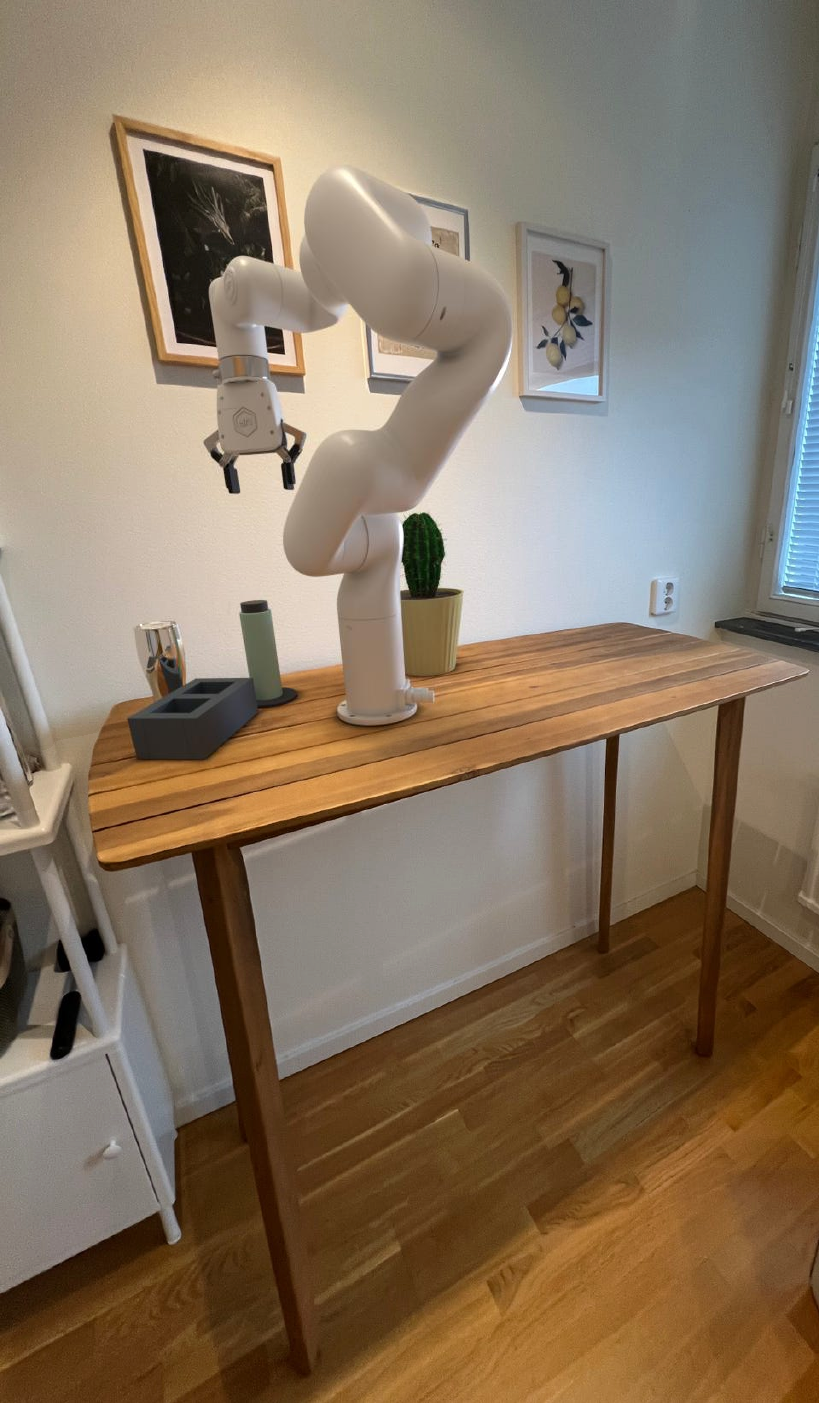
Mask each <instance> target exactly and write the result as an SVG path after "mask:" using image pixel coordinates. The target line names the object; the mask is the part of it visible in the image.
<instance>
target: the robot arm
mask: <svg viewBox="0 0 819 1403" xmlns="http://www.w3.org/2000/svg"><path fill="white" fill-rule="evenodd" d="M305 202H306V203H305V208H304V216H303V217H304V218H303V223H304V224H303V225H304V226H303V227H304V234H303V236H302V239H301V242H300V246H299V254H298V256H299V257H298V260H299V268H300V271H299V270H295V269H292V268H290V267H286V266H283V265H279V264H276V263H273V262H269V261H265V260H263V259H259V258H255V257H252V256H247V255H239V256H236V257H234V258H233V259H232V260H230V262H229V263H228V264H227V266H226V268H225V269H224V270H225V271H224V272H223V274H222V275H221V276H220V277H217V278H215V279H213V280H212V281H211V282H210V285H209V287H208V299H209V304H210V312H211V317H212V324H213V330H214V331H213V332H214V338H215V344H216V351H217V358H218V363H217V366H218V368H217V369H213V370H212V377H213V379H214V380H215V381H220V383H221V384H217V386H216V418H217V429H216V430H215V431H214V432H212V433H211V434H210V435H209V436H208V437H206V438H205V439H203V446H204V447H205V448H206V451H208V453H209V454H210V457H211V458H212V460H214V462H216V463H217V464H218V466H219V467H220V468H222V471H223V477H224V485H225V488H226V489H227V491H228V494H231V495H232V494H233V495H239V494H241V487H240V480H239V473H238V469H237V467H236V468H235V464H236V462H237V461H238V458H239V457H240V456H252V455H266V454H267V455H268V454H277V455H278V457H280V459H281V460H282V462H281V464H280V470H281V477H282V478H281V479H282V486H283V489H284V490H286V491H294V490H295V485H296V481H297V480H296V472H295V471H296V470H295V464H296V463H297V460H298V457H300V455H301V454H302V452H303V449H304V445H305V443H306V440H307V433H306V432H305V431H303V430H301V429H299V428H297V427H295V426H293V425H290V424H288V423H286V421H285V416H284V412H283V407H282V404H281V399H280V396H279V393H278V389H277V387H276V384H275V383H274V382H273V381H272V380H271V372H270V363H269V356H268V355H269V354H268V347H267V346H268V345H267V338H266V330H265V327H269V328H274V329H277V330H284V331H287V332H292V333H297V334H310V333H314V332H318V331H322V330H324V329H328V328H331V327H333V326H336V325H337V324H338V323H339V322H340V321H341V320H342V319H343V317H344V315H345V314H346V313H347V310H348V308H349V305H350V307H351V308H352V309H353V310H354V312H355V313H356V314H357V315H358V317H359V318H360V319H361V320H362V321H363V323H364V324H365V325H366V326H367V327H369V329H370V330H372V331H373V332H374V333H376V334H377V335H378V336H380V337H382V338H384V339H386V340H388V341H391V342H394V343H398V344H403V345H407V346H412V347H416V348H420V349H424V350H429V351H433V352H436V357H435V358H434V359H433V361H431V363H429V365H427V366H426V367H425V368H424V369H423V370H421V371H420V372H419V373H418V374H417V375H416V376H415V377H414V378H413V379H412V380H411V381H410V382H409V383H408V385H407V386H406V387H405V389H404V390H403V391H402V393H401V395H400V397H399V398H398V400H397V403H396V405H395V407H394V409H393V411H392V412H391V414H390V416H389V418H387V421H386V422H385V423H384V425H383V426H381V427H379V428H378V429H374V430H369V429H368V430H365V429H343V430H339V431H335V432H333V433H332V434H330V435H328V436H327V437H326V438H324V440H323V441H322V442H321V443H320V444H319V445H318V446H317V447H316V449H315V451H314V453H313V455H312V457H311V458H310V460H309V463H308V465H307V468H306V470H305V472H304V474H303V477H302V479H301V482H300V484H299V486H298V489H297V491H296V494H295V495H294V499H293V501H292V502H291V505H290V508H289V511H288V513H287V515H286V518H285V522H284V526H283V532H282V544H283V546H282V547H283V551H284V555H285V557H286V560H287V561H288V563H289V565H290V566H291V568H293V569H294V570H295V571H296V572H297V573H300V574H301V575H303V576H307V577H311V578H313V577H314V578H321V577H330V576H336V575H337V576H338V575H342V578H341V581H340V583H339V587H338V591H337V596H336V614H337V625H338V634H339V635H338V636H339V645H340V653H341V654H340V655H341V663H342V664H341V665H342V673H343V675H342V676H343V684H344V693H345V700H344V701H342V702H341V703H340V704H339V705H338V706H337V708H336V713H337V717H338V718H339V719H340V720H341V721H343V722H344V723H347V724H351V725H357V726H368V727H369V726H382V725H390V724H394V723H398V722H401V721H405V720H406V719H408V718H410V717H412V716H414V714H415V713H416V712H417V710H418V703H419V704H420V703H421V704H434V703H435V691H434V690H429V687H414V686H413V685H411V680H410V678H406V674H405V666H404V650H403V634H402V618H401V598H400V591H401V569H402V568H401V567H402V564H401V563H402V562H401V560H402V553H403V543H404V534H403V527H402V524H403V522H402V520H401V519H400V517H399V515H398V514H399V513H404V512H407V511H411V510H413V509H415V508H416V507H417V506H418V505H419V504H420V503H421V502H422V501H423V500H424V498H425V497H426V496H427V493H428V492H429V491H430V489H431V487H432V486H433V484H434V483H435V481H436V479H437V478H438V476H439V474H440V473H441V472H442V470H443V469H444V467H445V465H446V464H447V462H448V460H449V459H450V458H451V456H452V455H453V453H454V451H455V450H456V448H457V446H458V444H459V443H460V441H461V439H462V438H463V436H464V434H465V433H466V432H467V430H468V429H469V427H470V426H471V425H472V423H473V422H474V420H475V419H476V417H477V416H478V415H479V413H480V412H481V411H482V409H483V408H484V407H485V405H486V404H487V403H488V401H489V400H490V399H491V397H492V395H493V394H494V392H495V391H496V389H497V387H498V386H499V384H500V382H501V380H502V379H503V376H504V373H505V371H506V369H507V366H508V363H509V360H510V356H511V351H512V347H513V340H514V339H513V338H514V321H513V320H514V319H513V312H512V306H511V303H510V300H509V297H508V295H507V293H506V292H505V289H504V288H503V287H502V284H500V283H499V281H498V280H497V279H496V278H495V277H494V276H493V275H492V274H491V273H490V272H489V271H487V270H486V269H484V268H482V267H481V266H479V264H476V263H474V262H472V261H470V260H467V259H465V258H463V257H461V256H458V255H456V254H453V253H451V252H448V251H445V250H443V249H441V248H438V247H436V246H434V245H433V234H432V229H431V224H430V221H429V218H428V216H427V214H426V212H425V210H424V209H423V207H422V206H421V205H420V204H419V202H418V201H417V200H416V199H415V198H414V197H413V196H411V195H410V194H408V193H407V192H405V191H404V190H402V189H401V188H398V187H396V186H394V185H391V184H390V183H388V182H386V181H384V180H382V179H380V178H378V177H376V176H374V175H372V174H370V173H368V172H366V171H365V170H362V169H360V168H358V167H356V166H352V165H348V164H339V165H338V164H337V165H334V166H332V167H329V168H328V169H326V170H325V171H323V172H322V173H321V174H319V176H318V177H317V179H316V180H315V181H314V183H313V185H312V186H311V188H310V190H309V192H308V196H307V198H306V201H305ZM288 435H290V436H292V437H294V442H293V445H292V446H291V447H290V449H288ZM218 443H219V445H220V449H221V450H222V452H223V453H221V452H220V451H219V448H218V446H217V445H218Z"/></svg>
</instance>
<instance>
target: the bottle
mask: <svg viewBox="0 0 819 1403" xmlns="http://www.w3.org/2000/svg"><path fill="white" fill-rule="evenodd" d="M239 605H240V606H239V607H240V611H239V612H238V615H239V621H240V627H241V634H242V639H243V646H244V652H245V653H244V654H245V658H246V664H247V670H248V671H247V672H248V678H253V682H254V688H255V694H256V700H271V699H275V698H278V697H280V696H282V694H283V691H282V687H283V684H282V678H281V671H280V665H279V664H280V663H279V656H278V650H277V643H276V642H277V641H276V635H275V629H274V628H275V627H274V622H273V614H272V609H271V608H269V603H268V600H266V599H253V600H245V601H242V602H240V603H239Z"/></svg>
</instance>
